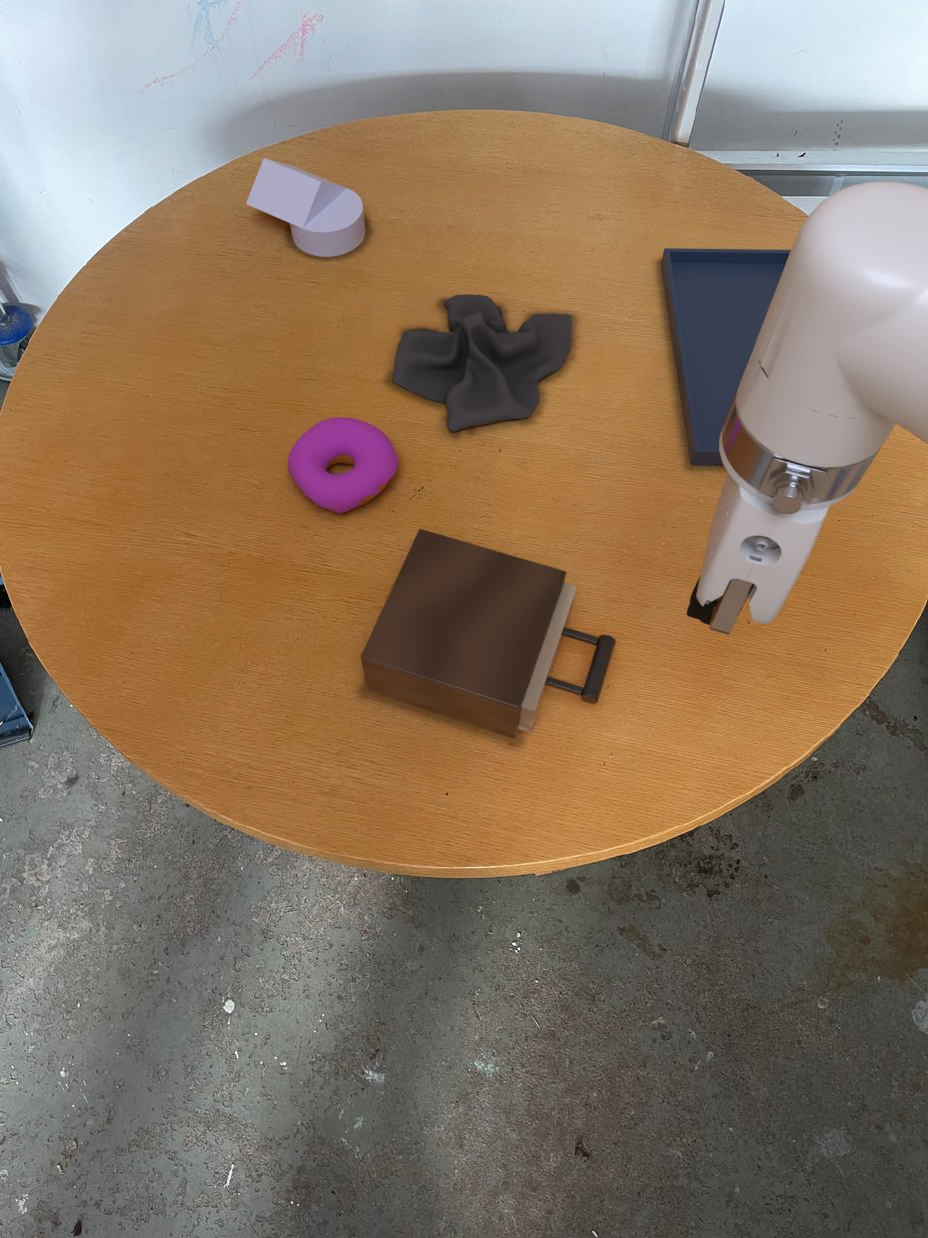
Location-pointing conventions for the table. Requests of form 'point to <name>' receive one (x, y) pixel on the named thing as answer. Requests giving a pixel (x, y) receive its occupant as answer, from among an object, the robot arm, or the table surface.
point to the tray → (715, 331)
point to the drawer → (548, 657)
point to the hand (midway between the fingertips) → (710, 612)
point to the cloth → (482, 361)
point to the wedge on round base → (310, 208)
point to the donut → (342, 445)
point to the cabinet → (462, 631)
